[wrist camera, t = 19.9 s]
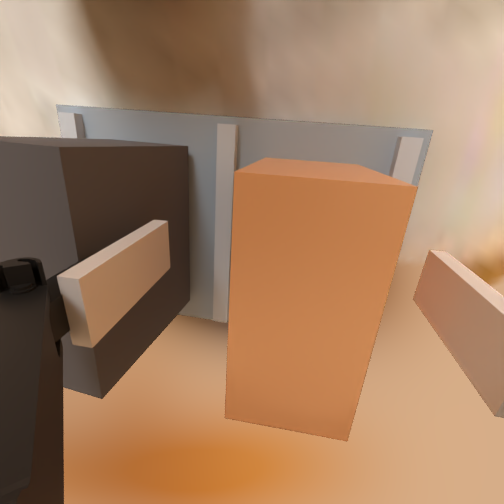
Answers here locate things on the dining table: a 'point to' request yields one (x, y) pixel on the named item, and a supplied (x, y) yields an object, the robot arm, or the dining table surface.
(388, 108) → the dining table surface
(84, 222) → the grey rectangular block
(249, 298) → the terracotta block
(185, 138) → the grey flat panel
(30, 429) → the robot arm
